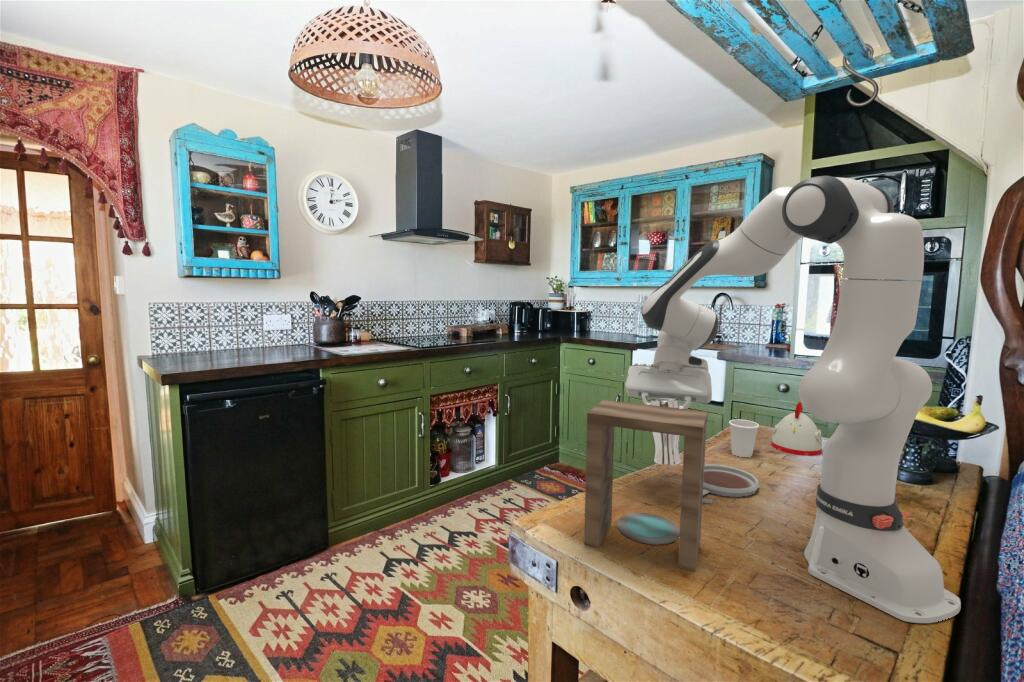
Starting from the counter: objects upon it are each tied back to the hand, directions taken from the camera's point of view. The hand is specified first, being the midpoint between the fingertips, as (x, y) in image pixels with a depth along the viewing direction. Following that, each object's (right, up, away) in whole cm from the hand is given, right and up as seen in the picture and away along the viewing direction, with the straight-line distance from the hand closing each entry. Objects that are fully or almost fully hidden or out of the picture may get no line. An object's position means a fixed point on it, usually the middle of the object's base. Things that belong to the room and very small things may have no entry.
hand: (663, 412), depth 114 cm
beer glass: (+1, -12, +1) cm, 12 cm away
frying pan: (+15, -22, +9) cm, 28 cm away
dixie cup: (+35, -18, +34) cm, 52 cm away
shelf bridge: (-8, -23, -14) cm, 28 cm away
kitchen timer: (+55, -18, +40) cm, 70 cm away
